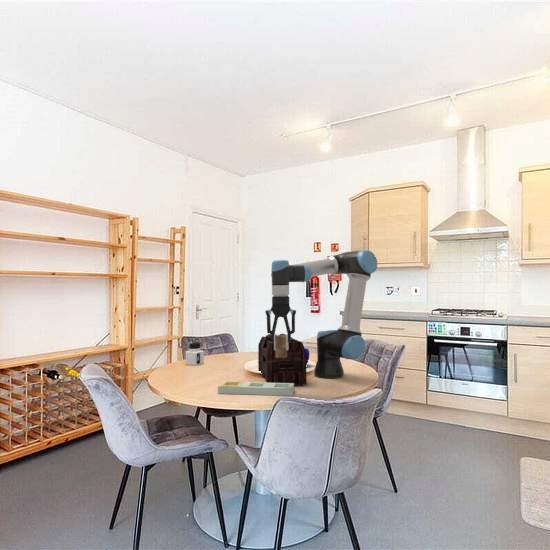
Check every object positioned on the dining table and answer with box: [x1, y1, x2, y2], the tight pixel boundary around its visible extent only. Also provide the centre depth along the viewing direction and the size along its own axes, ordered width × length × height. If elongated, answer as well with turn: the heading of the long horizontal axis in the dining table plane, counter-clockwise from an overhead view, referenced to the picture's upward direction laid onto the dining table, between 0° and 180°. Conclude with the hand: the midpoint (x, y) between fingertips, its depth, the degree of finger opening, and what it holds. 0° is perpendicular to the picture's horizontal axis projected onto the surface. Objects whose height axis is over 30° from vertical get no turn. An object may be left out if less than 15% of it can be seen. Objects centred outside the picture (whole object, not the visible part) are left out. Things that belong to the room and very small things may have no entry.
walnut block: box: [275, 334, 287, 358], centre depth 171 cm, size 4×4×9 cm
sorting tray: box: [217, 380, 295, 397], centre depth 172 cm, size 32×9×3 cm, turn 82°
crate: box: [257, 333, 307, 387], centre depth 197 cm, size 35×19×21 cm, turn 11°
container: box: [185, 341, 205, 366], centre depth 237 cm, size 8×8×13 cm
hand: (281, 349), depth 171 cm, fingers closed on walnut block, 4 cm apart
